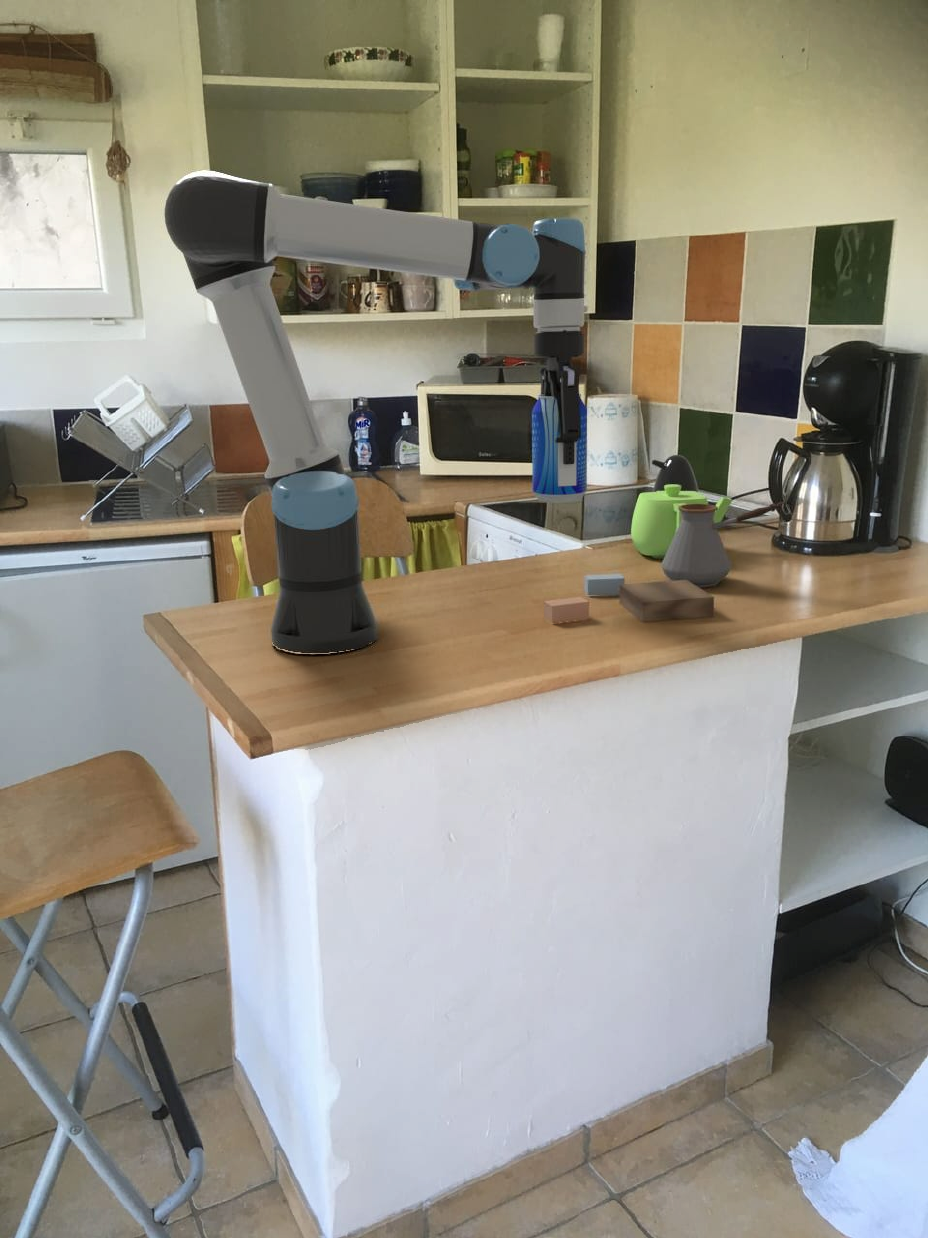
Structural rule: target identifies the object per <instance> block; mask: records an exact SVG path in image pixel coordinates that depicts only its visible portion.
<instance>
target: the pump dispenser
mask: <svg viewBox="0 0 928 1238" xmlns="http://www.w3.org/2000/svg"><path fill="white" fill-rule="evenodd" d="M651 465H653V466H655V467H657V468H659V470H658V473H657V476H656V479H655V482H654V485H653V489H652V490H653V491H652V492H657V491H665V488H664V486H665V485H670V484H676V485H680V486H681V490H680V491H695V492H698V493H699V488H698V483H697V480H696V477H695V474H694V470H693V468H692V466H691V464H690V462H689V460H688V459H687V458H686V457H685V456H683V455H681V454H680V455H679V454H673V455H671V456H668V457H667V458H666V459H665V460H664V462H663V461H660V460H657V459H653V460H652V461H651Z"/></svg>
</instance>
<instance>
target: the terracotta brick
mask: <svg viewBox="0 0 928 1238" xmlns="http://www.w3.org/2000/svg"><path fill="white" fill-rule="evenodd" d="M589 614H590V601H588V600H587V599H585V598H583V597H582V596H577V597H576V596H575V597H569V598H568V597H567V598H559V599H551V600H544V601H543V619H546V620H548V621H549V622H551V623H559V622H566V621H574V620H582V621H585V620H584V619H590V615H589ZM546 620H545V621H546ZM549 622H548V623H549ZM574 622H575V621H574ZM551 623H550V624H551ZM559 624H560V623H559Z"/></svg>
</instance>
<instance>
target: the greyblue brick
mask: <svg viewBox="0 0 928 1238" xmlns="http://www.w3.org/2000/svg"><path fill="white" fill-rule="evenodd" d="M625 581H626V580H625V577H624V576H623V575H622V573H611V574H607V573H606V574H587V575H584V593H585V592H586V593H587V595H612V596H620V585H622V584H626V583H625ZM586 593H585V594H586ZM587 595H586V596H587Z"/></svg>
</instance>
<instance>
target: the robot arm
mask: <svg viewBox="0 0 928 1238" xmlns="http://www.w3.org/2000/svg"><path fill="white" fill-rule="evenodd" d="M163 213H164V222H165V227H166V231H167V234H168V235H169V237H170V239H171V242H172V243H173V244H174V246H175V247H176V248H177V250H179V251H180V252H181V253H182V255H183V258H184V260H185V262H186V266H187V268H188V272H189V273H190V276H191V277H190V278H191V279H192V282H193V284H194V285H193V286H194V287H195V291H196V293H197V294H199V295H201V296H203V298H204V297H205V298H206V299H208V300H209V301H210V302H212V303H211V304H212V306H213V308H214V311H215V314H216V317H217V318H218V322H219V325H220V327H221V331H222V333H223V335H224V339H225V341H226V344H227V347H228V350H229V353H230V355H231V357H232V361H233V363H234V366H235V369H236V372H237V374H238V377H239V380H240V383H241V386H242V387H243V391H244V394H245V396H246V399H247V402H248V404H249V408H250V411H251V413H252V416H253V419H254V421H255V424H256V427H257V430H258V433H259V435H260V437H261V440H262V443H263V446H264V448H265V449H264V450H265V452H266V455H267V457H268V460H269V464H268V465H267V468H266V470H265V473H264V478H265V481H266V485H267V486H268V487H267V488H268V490H269V492H270V495H271V496H270V497H271V502H270V503H271V504H270V505H271V511H272V512H273V522H274V532H275V533H274V535H275V546H276V555H277V556H276V557H277V568H278V569H277V570H278V580H279V592H278V593H279V594H278V598H277V602H276V606H275V611H274V614H273V619H272V623H271V627H270V628H271V629H270V634H271V635H270V637H271V643H272V642H273V644H274V645H275V646H277V647H278V648H280V649H285V650H288V651H293V652H301V653H329V652H339V651H346V650H351V649H357V650H359V649H358V648H360V649H362V648H361V647H363V646H365V647H367V646H366V645H368V644H369V643H371V642H373V641H374V640H375V639H376V638H377V639H378V637H377V634H379V633H378V622H377V618H376V616H375V614H374V611H373V609H372V606H371V602H370V601H369V599H368V596H367V594H366V592H365V589H364V585H363V576H362V558H361V540H360V524H359V511H358V510H359V509H358V508H359V502H360V501H359V500H360V499H359V495H358V492H357V486H356V483H355V482H354V480H353V479H352V478H351V477H349V476H348V475H347V474H346V471H345V468H344V465H343V464H342V463H343V462H342V461H341V458H340V455H339V452H338V450H337V449H335V448H332V446H331V447H330V446H329V445H327V444H326V443H325V442H324V441H325V440H324V437H323V436H322V432H321V430H320V428H319V427H320V426H319V425H318V424H319V423H318V422H317V418H316V415H315V412H314V409H313V406H312V404H311V401H310V398H309V395H308V392H307V389H306V385H305V383H304V381H303V377H302V374H301V372H300V368H299V366H298V363H297V360H296V358H295V354H294V351H293V348H292V345H291V342H290V340H289V337H288V334H287V331H286V328H285V327H286V326H285V324H284V322H283V319H282V317H281V313H280V310H279V307H278V304H277V302H276V301H277V300H276V299H275V295H274V293H273V290H272V287H271V280H272V277H273V275H274V272H275V270H276V266H275V262H274V258H276V257H281V258H289V259H297V260H303V261H313V262H319V263H320V262H321V263H327V264H336V265H341V266H349V267H350V266H351V267H357V268H358V267H359V268H363V269H364V268H365V269H366V268H367V269H371V270H374V269H375V270H380V271H381V270H382V271H389V272H396V273H404V274H411V275H412V274H413V275H420V276H427V277H435V278H443V279H449V280H450V279H451V280H452V281H453V284H454V286H455V288H456V289H458V290H459V291H474V292H479V291H495V290H496V291H497V290H517V289H518V290H520V289H523V290H527V289H528V290H529V289H532V290H533V303H532V304H533V327H534V328H535V329H537V332H534V333H535V334H534V335H533V352H534V354H533V355H534V356H535V357H536V358H543V359H545V358H546V359H547V360H546V366H545V367H540V371H539V373H540V395H542V394H544V395H545V396H553V397H554V398H555V399H556V400H557V407H558V427H559V436H560V437H559V438H556V440H555V442H556V443H558V486H574V485H576V442H577V440H578V439H580V438H581V422H580V401H579V394H580V375H581V374H580V371H579V370H578V369H576V370H575V369H573V361H572V360H573V358H578V357H583V356H584V354H585V333H584V331H583V330H581V328H582V327H584V325H585V313H587V312H588V306H587V305H585V269H586V268H585V266H586V265H585V262H586V261H585V260H586V254H587V252H586V245H585V227H584V224H583V223H582V222H581V221H580V220H579V219H576V218H570V217H569V218H566V217H565V218H564V217H561V218H560V217H558V218H556V217H555V218H543V219H538V220H536V221H535V222H534V223H533V225H532V231H530V230H529V229H528V228H526V227H524V226H522V225H519V224H514V223H504V224H501V225H498V224H491V223H484V222H474V221H472V220H471V221H470V220H465V219H464V220H463V219H456V218H451V217H443V216H437V215H431V214H430V215H429V214H421V213H415V212H410V211H409V212H408V211H403V210H402V211H401V210H395V209H386V208H380V207H375V206H374V207H373V206H369V205H368V206H366V205H359V204H353V203H345V202H339V201H331V200H326V199H317V198H313V197H306V196H304V197H303V196H298V195H290V194H283V193H281V192H279V190H277V188H276V187H275V186H274V184H273V183H265V182H260V181H255V180H251V179H250V180H249V179H245V178H240V177H236V176H233V175H229V174H225V173H222V172H217V171H213V170H201V171H196V172H192V173H190V174H188V175H186V176H185V175H184V176H183V178H181V179H179V180H178V181H177V182H176V183H175V184H174V185H173V186H172V189H171V190H170V192H169V193H168V196H167V198H166V201H165V207H164V212H163ZM377 639H376V640H377ZM376 640H375V641H376ZM375 641H374V642H375ZM374 642H373V643H374ZM371 644H372V643H371ZM368 646H369V645H368ZM363 648H364V647H363Z"/></svg>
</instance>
